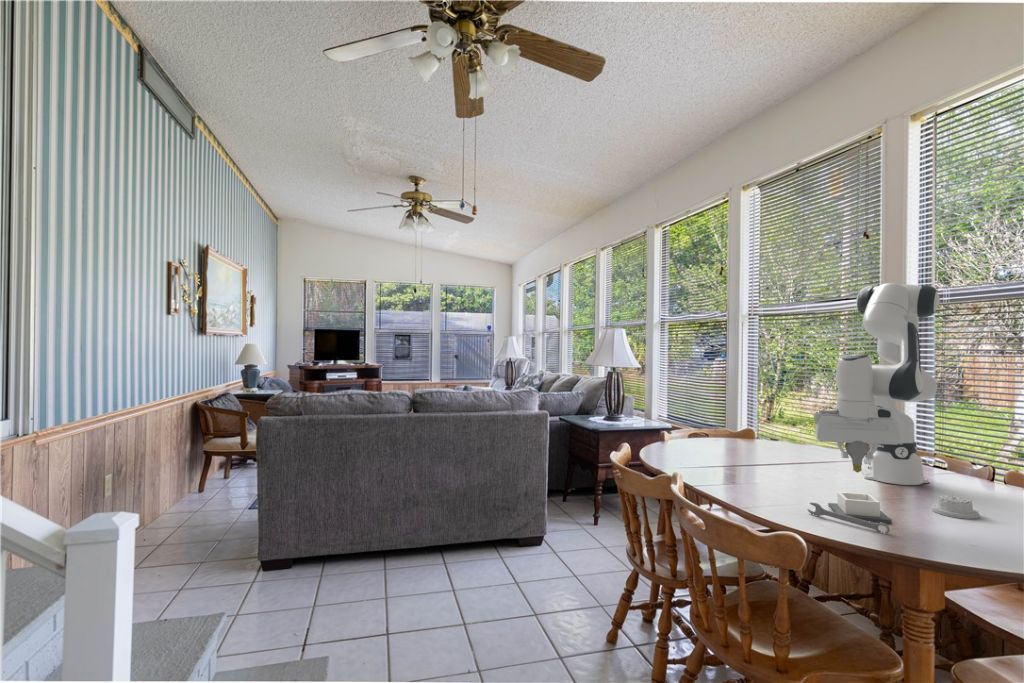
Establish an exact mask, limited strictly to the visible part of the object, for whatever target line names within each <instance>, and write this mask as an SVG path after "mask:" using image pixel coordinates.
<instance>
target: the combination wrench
mask: <svg viewBox="0 0 1024 683" xmlns="http://www.w3.org/2000/svg"><path fill="white" fill-rule="evenodd" d="M809 504H810V505H811V506H813V507H815V511H813V510H812V509H809V508H808V509H807V511H808V513H809V514H810V513H811V514H814V515H817V516H816V517H819V516H826V517H830V518H834V519H837V520H841V521H844V522H847V523H850V524H855V525H856V526H857V525H858V526H860V527H864V528H868V529H872V530H874V531H876V532H878V533H879V532H882V533H881V534H883V531H881V530H880V528H879V526H880V525H882V526H884V527H885V528H886V531H885V532H884V533H885V534H884V535H887V534H889V533H890V531H891V530H890V527H889V525H888V523H882V522H881V523H878V522H869V521H865V520H861V519H857V518H854V517H850V516H846V515H842V514H839V513H835V512H833V511H832V510H826V509H825V508H823V507H822V506H821V505H820V504H819V503H817V502H809ZM811 514H810V515H811ZM814 515H813V516H814Z"/></svg>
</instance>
